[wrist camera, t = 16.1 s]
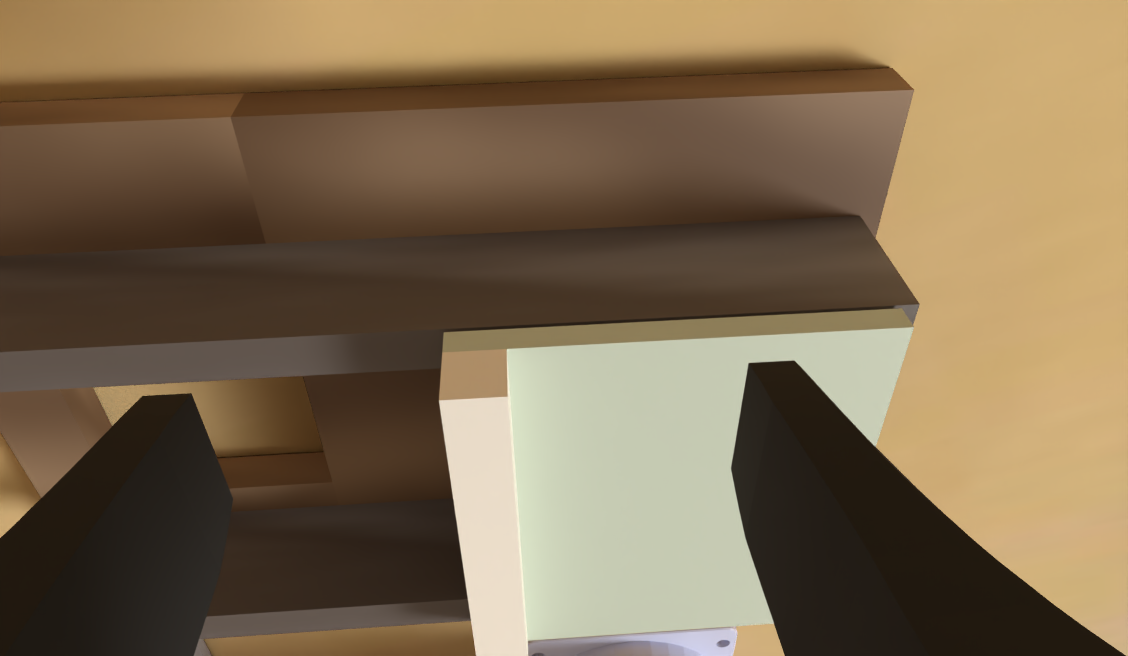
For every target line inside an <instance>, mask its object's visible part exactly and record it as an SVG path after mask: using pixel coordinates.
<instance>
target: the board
mask: <svg viewBox="0 0 1128 656" xmlns="http://www.w3.org/2000/svg"><path fill="white" fill-rule="evenodd" d="M913 92H914V89H913V88H912V87H911V86H910V85H909V84H908V83H907V82H906V81H905V80H904V79H903V78H902V77H901V76H900V75H899V74H898V73H897V72H896V71H895V70H894V69H893V68H881V69H855V70H829V71H803V72H777V73H751V74H725V75H700V76H674V77H648V78H622V79H596V80H570V81H544V82H518V83H493V84H467V85H441V86H415V87H389V88H363V89H337V90H311V91H286V92H260V93H234V94H208V95H182V96H156V97H130V98H105V99H79V100H53V101H27V102H1V103H0V432H1V434H2V435H3V437H4V439H5V440H6V442H7V444H8V445H9V447H10V448H11V450H12V452H13V453H14V455H15V456H16V458H17V460H18V461H19V463H20V465H21V466H22V468H23V469H24V471H25V473H26V474H27V476H28V477H29V479H30V481H31V482H32V484H33V486H34V487H35V489H36V490H37V492H38V494H39V495H40V497H41V498H42V497H43V496H44V495H45V494H46V493H47V492H48V491H49V490H50V489H51V488H52V487H53V486H54V485H55V484H56V483H57V482H58V481H59V480H60V479H61V478H62V477H63V476H64V475H65V474H66V473H67V472H68V471H69V470H70V469H71V468H72V467H73V466H74V465H75V464H76V463H77V462H78V461H79V460H80V459H81V458H82V457H83V456H84V455H85V454H86V453H87V452H88V451H89V450H90V449H91V448H92V447H93V446H94V445H95V443H96V442H97V441H98V440H99V439H100V438H101V437H102V436H103V435H104V434H105V433H106V432H107V431H108V430H109V429H110V428H111V427H112V425H111V423H110V421H109V419H108V417H107V415H106V413H105V411H104V409H103V407H102V405H101V403H100V401H99V399H98V397H97V395H96V393H95V391H94V389H93V387H107V386H125V385H144V384H162V383H180V382H199V381H217V380H236V379H254V378H273V377H291V376H303V378H304V382H305V385H306V389H307V393H308V396H309V400H310V403H311V407H312V411H313V414H314V418H315V421H316V425H317V428H318V432H319V436H320V439H321V443H322V446H323V450H324V452H315V453H298V454H281V455H264V456H247V457H230V458H217V459H218V462H219V464H220V467H221V469H222V472H223V474H224V477H225V479H226V482H227V484H228V487H229V489H230V492H231V494H232V497H233V503H232V510H231V516H230V522H229V528H228V534H227V540H226V545H225V550H224V555H223V560H222V565H221V570H220V574H219V577H218V581H217V584H216V587H215V591H214V594H213V597H212V600H211V603H210V607H209V610H208V613H207V616H206V619H205V622H204V626H203V629H202V632H201V635H200V638H199V639H210V638H224V637H239V636H254V635H268V634H283V633H298V632H312V631H327V630H342V629H356V628H371V627H385V626H400V625H415V624H429V623H444V622H459V621H471V617H470V610H469V603H468V596H467V590H466V583H465V576H464V569H463V562H462V555H461V548H460V542H459V535H458V528H457V521H456V514H455V507H454V501H453V494H452V487H451V480H450V473H449V466H448V459H447V453H446V446H445V439H444V432H443V425H442V418H441V411H440V405H439V392H440V378H441V364H442V350H443V336H444V332H459V331H478V330H497V329H516V328H535V327H555V326H574V325H593V324H612V323H631V322H650V321H669V320H689V319H708V318H727V317H746V316H765V315H784V314H803V313H823V312H842V311H861V310H880V309H899V308H902V309H903V311H904V312H905V314H906V316H907V317H908V319H909V320H910V322H911V323H912V325H913V323H914V320H915V317H916V314H917V311H918V308H919V305H920V304H919V303H918V301H917V300H916V298H915V297H914V295H913V294H912V292H911V291H910V289H909V288H908V286H907V285H906V283H905V282H904V280H903V279H902V277H901V276H900V274H899V273H898V271H897V270H896V268H895V267H894V265H893V264H892V262H891V261H890V259H889V258H888V256H887V255H886V253H885V252H884V250H883V249H882V248H881V246H880V245H879V243H878V242H877V240H876V239H875V238H876V234H877V230H878V226H879V222H880V218H881V215H882V211H883V207H884V203H885V199H886V196H887V192H888V188H889V184H890V180H891V176H892V173H893V169H894V165H895V161H896V157H897V153H898V150H899V146H900V142H901V138H902V134H903V130H904V127H905V123H906V119H907V115H908V111H909V107H910V104H911V100H912V96H913Z"/></svg>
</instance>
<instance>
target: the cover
mask: <svg viewBox="0 0 1128 656" xmlns="http://www.w3.org/2000/svg"><path fill="white" fill-rule="evenodd" d="M913 329H914V326H913V325H912V323H911V322H910V320H909V319H908V317H907V316H906V314H905V312H904V311H903V309H902V308H899V309H880V310H861V311H842V312H823V313H803V314H784V315H765V316H746V317H727V318H708V319H689V320H669V321H650V322H631V323H612V324H593V325H574V326H555V327H535V328H516V329H497V330H478V331H459V332H444V336H443V350H442V364H441V378H440V392H439V405H440V411H441V418H442V425H443V432H444V439H445V446H446V453H447V459H448V466H449V473H450V480H451V487H452V494H453V501H454V507H455V514H456V521H457V528H458V535H459V542H460V548H461V555H462V562H463V569H464V576H465V583H466V590H467V596H468V603H469V610H470V617H471V624H472V631H473V638H474V644H475V651H476V656H528V641H530V640H545V639H559V638H573V637H588V636H602V635H617V634H631V633H645V632H660V631H674V630H688V629H703V628H717V627H732V626H746V625H760V624H774V622H773V619H772V616H771V613H770V610H769V607H768V605H767V602H766V599H765V596H764V593H763V590H762V587H761V584H760V581H759V578H758V575H757V572H756V569H755V566H754V563H753V560H752V557H751V554H750V551H749V548H748V545H747V542H746V539H745V534H744V530H743V525H742V521H741V516H740V512H739V507H738V502H737V497H736V492H735V487H734V482H733V477H732V472H731V465H732V459H733V453H734V447H735V441H736V435H737V429H738V423H739V417H740V411H741V405H742V399H743V393H744V387H745V381H746V375H747V369H748V363H755V362H774V361H792V360H794V361H795V362H796V363H797V364H798V365H800V366H801V368H802V369H803V370H804V371H805V372H806V373H807V374H808V375H809V376H810V377H811V378H812V379H813V380H814V382H815V383H816V384H817V385H818V386H819V387H820V388H821V389H822V390H823V391H824V392H825V394H826V395H827V396H828V397H829V398H830V399H831V400H832V401H833V402H834V403H835V404H836V406H837V407H838V408H839V409H840V410H841V411H842V412H843V413H844V414H845V415H846V416H847V417H848V418H849V420H850V421H851V422H852V423H853V424H854V425H855V426H856V427H857V428H858V429H859V430H860V431H861V432H862V433H863V434H864V435H865V436H866V438H867V439H868V440H869V441H870V442H871V443H872V444H873V445H874V446H875V447H876V444H877V441H878V438H879V435H880V432H881V429H882V425H883V422H884V419H885V416H886V413H887V410H888V407H889V404H890V400H891V397H892V394H893V391H894V388H895V385H896V382H897V379H898V376H899V372H900V369H901V366H902V363H903V360H904V357H905V354H906V351H907V347H908V344H909V341H910V338H911V335H912V332H913Z"/></svg>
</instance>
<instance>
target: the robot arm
mask: <svg viewBox="0 0 1128 656" xmlns="http://www.w3.org/2000/svg"><path fill="white" fill-rule="evenodd" d="M731 472H732V477H733V482H734V487H735V492H736V497H737V502H738V507H739V512H740V516H741V521H742V525H743V530H744V534H745V539H746V542H747V545H748V548H749V551H750V554H751V557H752V560H753V563H754V566H755V569H756V572H757V575H758V578H759V581H760V584H761V587H762V590H763V593H764V596H765V599H766V602H767V605H768V607H769V610H770V613H771V616H772V619H773V622H774V625H775V628H776V631H777V634H778V637H779V640H780V643H781V645H782V648H783V651H784V654H785V656H1126V655H1124V654H1123V653H1121V652H1120V651H1118V650H1117V649H1115V648H1114V647H1112V646H1111V645H1110V644H1108V643H1107V642H1105V641H1104V640H1102V639H1101V638H1099V637H1098V636H1097V635H1095V634H1094V633H1092V632H1091V631H1089V630H1088V629H1086V628H1085V627H1084V626H1082V625H1081V624H1080V623H1078V622H1077V621H1075V620H1074V619H1073V618H1071V617H1070V616H1069V615H1067V614H1066V613H1064V612H1063V611H1062V610H1060V609H1059V608H1058V607H1056V606H1055V605H1054V604H1052V603H1051V602H1050V601H1048V600H1047V599H1046V598H1045V597H1043V596H1042V595H1041V594H1040V593H1038V592H1037V591H1036V590H1034V589H1033V588H1032V587H1031V586H1029V585H1028V584H1027V583H1026V582H1024V581H1023V580H1022V579H1020V578H1019V577H1018V576H1017V575H1015V574H1014V573H1013V572H1012V571H1010V570H1009V569H1008V568H1006V567H1005V566H1004V565H1003V564H1001V563H1000V562H999V561H998V560H996V559H995V558H994V557H993V556H992V555H991V554H989V553H988V552H987V551H986V550H985V549H983V548H982V547H981V546H980V545H979V544H978V543H976V542H975V541H974V540H973V539H972V538H971V537H969V536H968V535H967V534H966V533H965V532H964V531H963V530H962V529H961V528H959V527H958V526H957V525H956V524H955V523H954V522H953V521H952V520H951V519H949V518H948V517H947V516H946V515H945V514H944V513H943V512H942V511H941V510H940V509H938V508H937V507H936V506H935V505H934V504H933V503H932V502H931V501H930V500H929V499H928V498H927V497H926V496H925V495H924V494H923V493H921V492H920V491H919V490H918V489H917V488H916V487H915V486H914V485H913V484H912V483H911V482H910V481H909V480H908V479H907V478H906V477H905V476H904V475H903V474H902V473H901V472H900V471H899V470H898V469H897V468H896V467H895V466H894V465H893V464H892V463H891V462H890V461H889V460H888V459H887V458H886V457H885V456H884V455H883V454H882V453H881V452H880V451H879V450H878V449H877V448H876V447H875V446H874V445H873V444H872V443H871V442H870V441H869V440H868V439H867V438H866V436H865V435H864V434H863V433H862V432H861V431H860V430H859V429H858V428H857V427H856V426H855V425H854V424H853V423H852V422H851V421H850V420H849V418H848V417H847V416H846V415H845V414H844V413H843V412H842V411H841V410H840V409H839V408H838V407H837V406H836V404H835V403H834V402H833V401H832V400H831V399H830V398H829V397H828V396H827V395H826V394H825V392H824V391H823V390H822V389H821V388H820V387H819V386H818V385H817V384H816V383H815V382H814V380H813V379H812V378H811V377H810V376H809V375H808V374H807V373H806V372H805V371H804V370H803V369H802V368H801V366H800V365H798V364H797V363H796V362H795V361H794V360H792V361H774V362H755V363H748V369H747V375H746V381H745V387H744V393H743V399H742V405H741V411H740V417H739V423H738V429H737V435H736V441H735V447H734V453H733V459H732V465H731ZM232 503H233V497H232V494H231V492H230V489H229V487H228V484H227V482H226V479H225V477H224V474H223V472H222V469H221V467H220V464H219V462H218V459H217V457H216V454H215V452H214V449H213V447H212V444H211V442H210V439H209V437H208V434H207V432H206V429H205V427H204V424H203V422H202V419H201V417H200V414H199V412H198V409H197V407H196V404H195V402H194V399H193V397H192V394H191V393H190V394H172V395H154V396H142V397H141V398H140V399H139V400H138V401H137V402H136V403H135V404H134V405H133V406H132V407H131V408H130V409H129V410H128V411H127V412H126V413H125V414H124V415H123V416H122V417H121V418H120V419H119V420H118V421H117V422H116V423H115V424H114V425H113V426H112V427H111V428H110V429H109V430H108V431H107V432H106V433H105V434H104V435H103V436H102V437H101V438H100V439H99V440H98V441H97V442H96V443H95V445H94V446H93V447H92V448H91V449H90V450H89V451H88V452H87V453H86V454H85V455H84V456H83V457H82V458H81V459H80V460H79V461H78V462H77V463H76V464H75V465H74V466H73V467H72V468H71V469H70V470H69V471H68V472H67V473H66V474H65V475H64V476H63V477H62V478H61V479H60V480H59V481H58V482H57V483H56V484H55V485H54V486H53V487H52V488H51V489H50V490H49V491H48V492H47V493H46V494H45V495H44V496H43V497H42V498H41V499H40V500H39V501H38V502H37V503H36V504H35V505H34V506H33V507H32V508H31V509H30V510H29V511H28V512H27V513H26V514H25V515H24V516H23V517H22V518H21V519H20V520H19V521H18V522H17V523H16V524H15V525H14V526H13V527H12V528H11V529H10V530H9V531H7V532H6V533H5V534H4V535H3V536H2V537H1V538H0V656H194V653H195V650H196V647H197V644H198V641H199V638H200V635H201V632H202V629H203V626H204V622H205V619H206V616H207V613H208V610H209V607H210V603H211V600H212V597H213V594H214V591H215V587H216V584H217V581H218V577H219V574H220V570H221V565H222V560H223V555H224V550H225V545H226V540H227V534H228V528H229V522H230V516H231V510H232ZM736 638H737V630H736V626H732V627H717V628H703V629H688V630H674V631H660V632H645V633H631V634H617V635H602V636H588V637H573V638H559V639H545V640H530V641H528V656H733V652H734V648H735V643H736Z"/></svg>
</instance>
